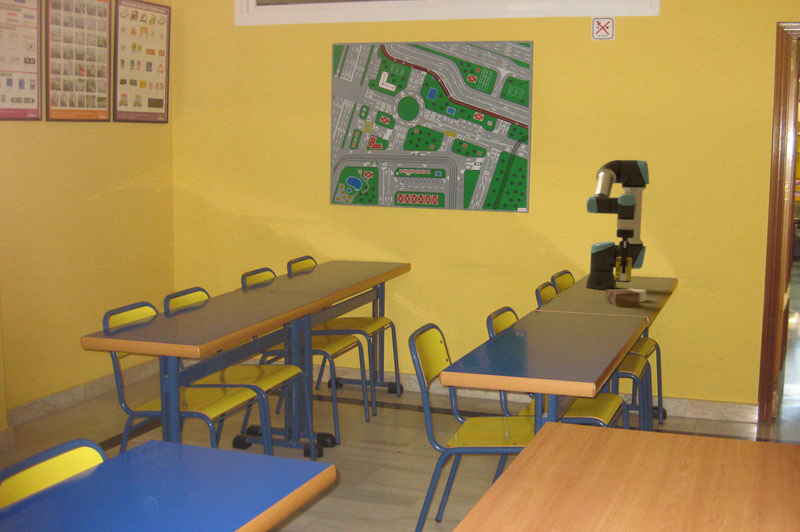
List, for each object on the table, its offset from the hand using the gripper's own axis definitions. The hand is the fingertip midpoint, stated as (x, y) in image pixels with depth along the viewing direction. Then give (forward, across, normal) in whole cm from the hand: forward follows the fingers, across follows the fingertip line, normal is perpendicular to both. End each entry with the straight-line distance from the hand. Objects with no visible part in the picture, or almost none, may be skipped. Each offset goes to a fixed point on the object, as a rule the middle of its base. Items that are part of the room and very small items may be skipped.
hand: (622, 279), depth 391 cm
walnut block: (+12, 0, 0) cm, 12 cm away
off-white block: (+11, +12, -6) cm, 18 cm away
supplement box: (+1, 0, 0) cm, 1 cm away
